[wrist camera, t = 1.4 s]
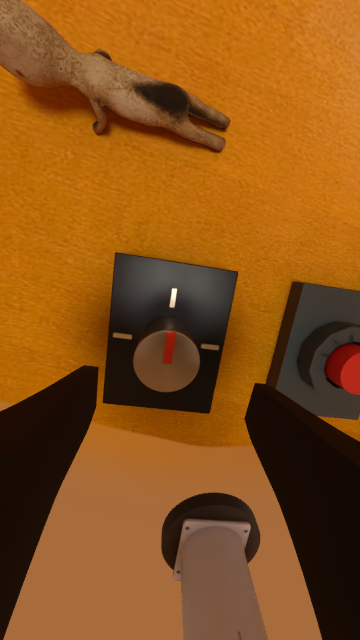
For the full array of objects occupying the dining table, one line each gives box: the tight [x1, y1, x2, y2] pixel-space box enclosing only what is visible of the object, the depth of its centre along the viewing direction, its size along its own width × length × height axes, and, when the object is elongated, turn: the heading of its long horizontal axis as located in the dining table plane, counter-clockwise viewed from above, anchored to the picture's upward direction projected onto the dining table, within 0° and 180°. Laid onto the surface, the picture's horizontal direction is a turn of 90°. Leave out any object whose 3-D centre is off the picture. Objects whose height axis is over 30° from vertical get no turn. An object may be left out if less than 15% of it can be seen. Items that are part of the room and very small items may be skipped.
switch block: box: [267, 282, 360, 420], centre depth 20 cm, size 12×9×4 cm
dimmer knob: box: [133, 316, 200, 392], centre depth 15 cm, size 4×4×4 cm
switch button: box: [325, 344, 360, 395], centre depth 17 cm, size 4×4×2 cm
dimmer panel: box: [103, 252, 238, 414], centre depth 18 cm, size 12×9×3 cm
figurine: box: [0, 0, 230, 151], centre depth 14 cm, size 4×4×15 cm
